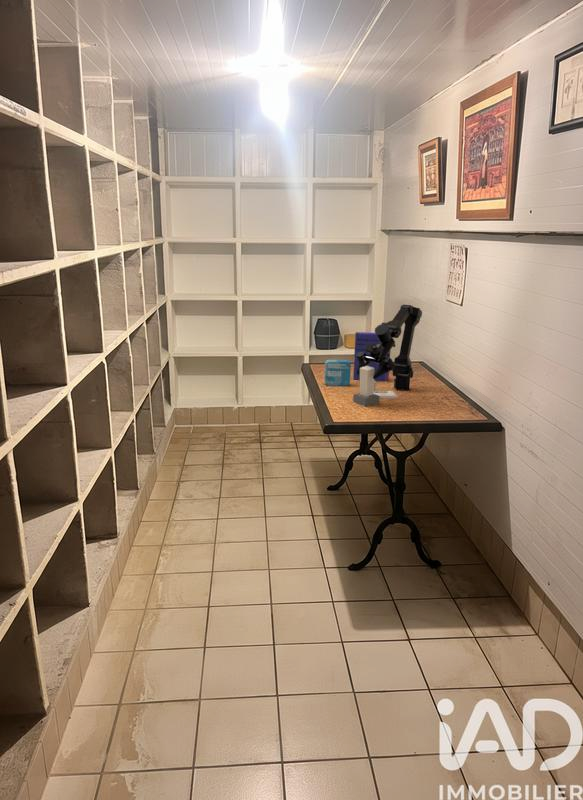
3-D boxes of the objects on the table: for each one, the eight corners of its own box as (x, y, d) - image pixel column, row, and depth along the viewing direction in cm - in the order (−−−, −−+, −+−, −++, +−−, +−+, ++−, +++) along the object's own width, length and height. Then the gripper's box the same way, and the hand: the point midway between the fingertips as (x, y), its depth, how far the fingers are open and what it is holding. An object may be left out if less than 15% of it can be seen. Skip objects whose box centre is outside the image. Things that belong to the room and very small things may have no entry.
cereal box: (387, 379, 309) (390, 332, 303) (388, 381, 305) (391, 334, 298) (353, 378, 310) (355, 331, 303) (353, 380, 305) (356, 333, 299)
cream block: (366, 391, 265) (366, 365, 261) (374, 394, 262) (374, 367, 258) (359, 394, 263) (359, 368, 259) (367, 396, 260) (367, 370, 255)
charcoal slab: (367, 400, 269) (367, 391, 268) (379, 404, 262) (379, 395, 261) (353, 402, 265) (353, 394, 264) (364, 407, 258) (365, 398, 257)
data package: (325, 385, 293) (326, 361, 290) (324, 383, 297) (325, 359, 294) (349, 386, 294) (351, 361, 291) (348, 383, 298) (349, 359, 295)
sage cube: (371, 389, 288) (371, 379, 287) (375, 391, 284) (376, 381, 282) (361, 389, 287) (362, 379, 286) (365, 392, 282) (366, 381, 281)
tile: (392, 393, 281) (392, 390, 281) (397, 398, 272) (397, 395, 272) (366, 393, 280) (367, 390, 279) (371, 398, 271) (371, 395, 271)
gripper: (359, 333, 265) (341, 361, 261) (392, 339, 252) (373, 368, 248) (370, 349, 272) (352, 376, 268) (403, 356, 259) (385, 384, 255)
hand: (365, 376), depth 260 cm, fingers open, 9 cm apart
